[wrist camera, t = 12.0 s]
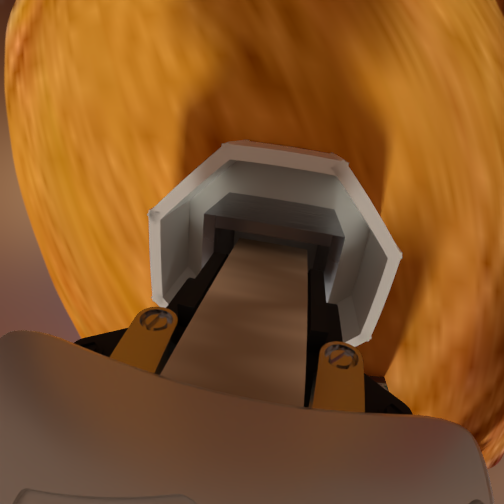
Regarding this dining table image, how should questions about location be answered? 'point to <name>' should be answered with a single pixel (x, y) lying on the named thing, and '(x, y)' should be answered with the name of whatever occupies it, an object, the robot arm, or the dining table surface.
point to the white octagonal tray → (282, 188)
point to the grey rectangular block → (250, 327)
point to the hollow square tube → (275, 228)
